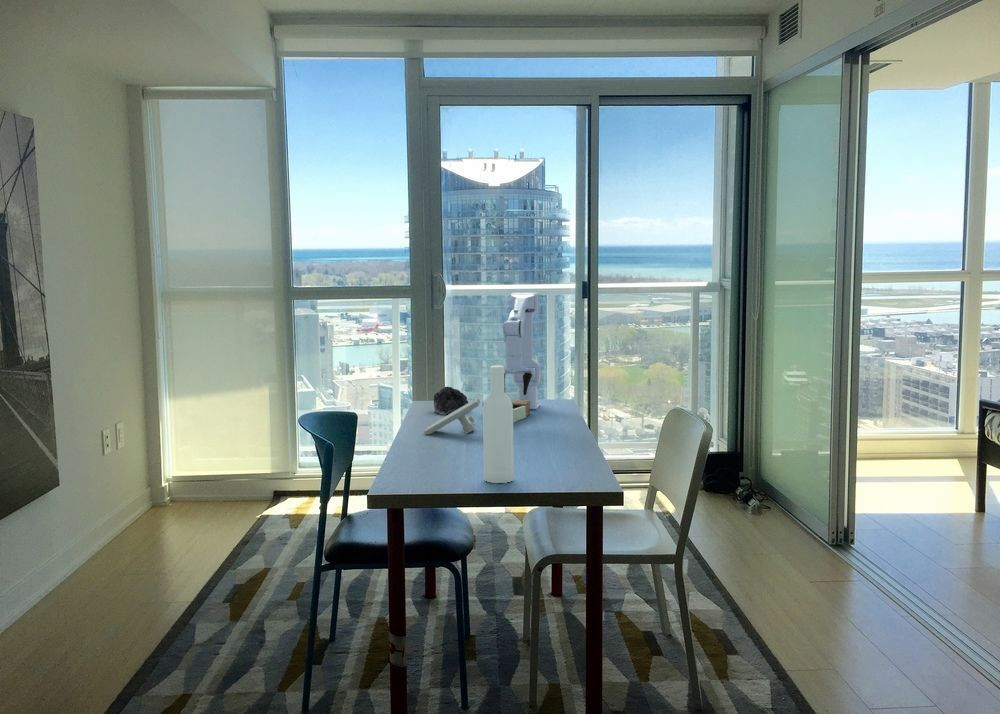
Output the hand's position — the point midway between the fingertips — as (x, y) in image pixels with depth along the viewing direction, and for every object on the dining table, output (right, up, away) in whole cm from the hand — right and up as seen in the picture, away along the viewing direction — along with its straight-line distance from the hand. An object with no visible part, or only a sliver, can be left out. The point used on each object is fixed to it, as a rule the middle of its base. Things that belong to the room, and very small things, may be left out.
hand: (514, 394), depth 283 cm
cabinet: (-3, -8, +14) cm, 16 cm away
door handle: (-20, -12, -7) cm, 25 cm away
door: (+1, -9, +2) cm, 10 cm away
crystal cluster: (-23, -8, +23) cm, 34 cm away
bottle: (-5, -19, -69) cm, 72 cm away
